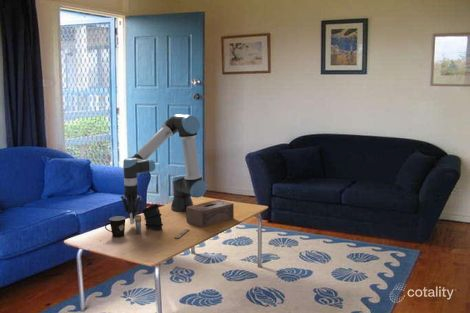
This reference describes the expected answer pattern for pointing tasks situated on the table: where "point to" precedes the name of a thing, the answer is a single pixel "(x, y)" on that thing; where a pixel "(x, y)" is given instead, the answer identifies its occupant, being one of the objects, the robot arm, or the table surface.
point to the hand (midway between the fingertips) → (132, 223)
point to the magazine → (153, 217)
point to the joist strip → (181, 234)
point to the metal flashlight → (138, 224)
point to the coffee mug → (117, 226)
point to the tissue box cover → (210, 213)
